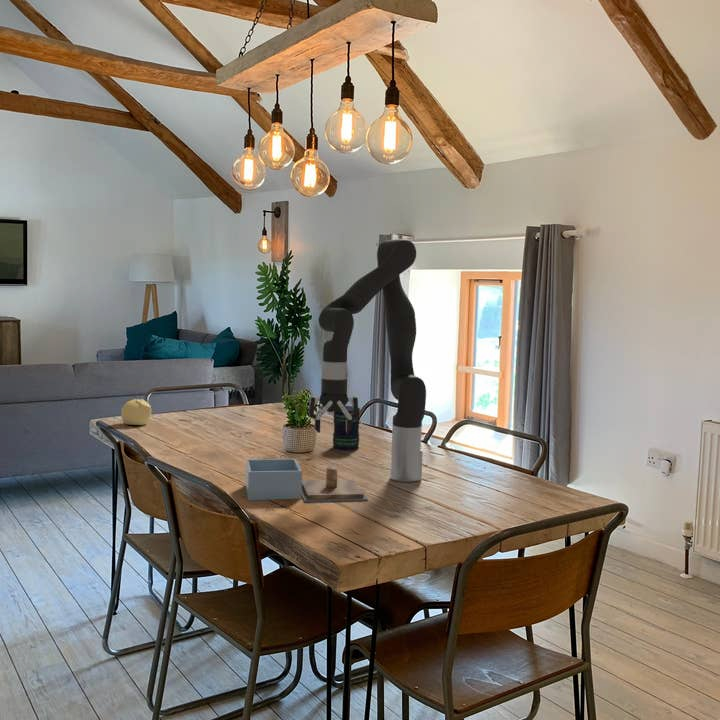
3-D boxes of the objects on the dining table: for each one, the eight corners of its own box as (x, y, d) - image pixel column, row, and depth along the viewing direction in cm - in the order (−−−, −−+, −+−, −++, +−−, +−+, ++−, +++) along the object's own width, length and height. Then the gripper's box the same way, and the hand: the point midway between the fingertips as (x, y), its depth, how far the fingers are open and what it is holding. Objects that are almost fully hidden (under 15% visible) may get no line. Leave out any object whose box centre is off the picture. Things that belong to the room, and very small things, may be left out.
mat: (355, 483, 237) (355, 482, 237) (367, 500, 219) (367, 499, 219) (297, 485, 233) (297, 483, 233) (304, 502, 215) (304, 500, 215)
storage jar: (358, 451, 281) (360, 411, 280) (331, 450, 282) (332, 410, 280) (359, 445, 291) (360, 406, 290) (333, 444, 292) (334, 405, 290)
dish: (295, 484, 233) (296, 458, 233) (301, 498, 219) (302, 471, 218) (245, 485, 230) (245, 459, 230) (248, 500, 216) (248, 472, 215)
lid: (353, 483, 235) (353, 461, 235) (363, 498, 220) (364, 475, 219) (300, 484, 232) (301, 462, 232) (307, 499, 217) (308, 476, 216)
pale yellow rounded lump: (154, 426, 316) (154, 400, 315) (125, 428, 310) (125, 401, 309) (147, 421, 326) (147, 395, 324) (118, 423, 320) (118, 397, 318)
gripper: (356, 375, 228) (354, 429, 229) (308, 375, 225) (306, 429, 227) (361, 378, 220) (359, 434, 222) (311, 378, 218) (310, 435, 219)
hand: (332, 432), depth 224 cm, fingers open, 8 cm apart
